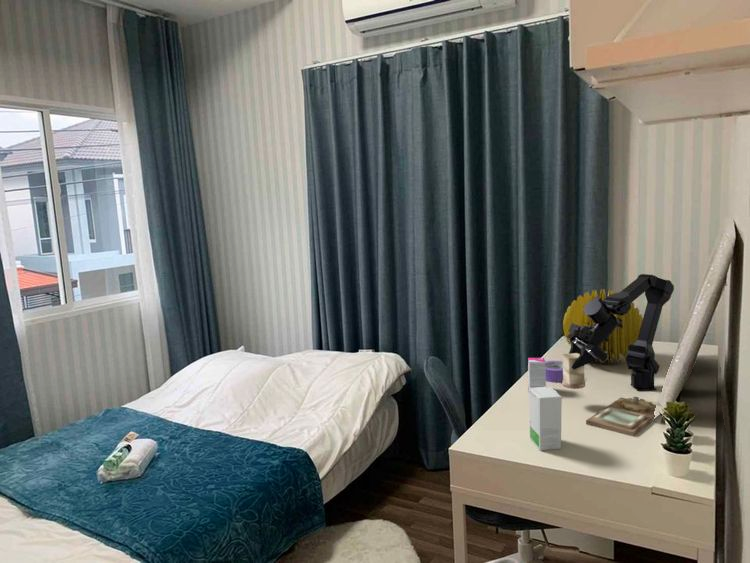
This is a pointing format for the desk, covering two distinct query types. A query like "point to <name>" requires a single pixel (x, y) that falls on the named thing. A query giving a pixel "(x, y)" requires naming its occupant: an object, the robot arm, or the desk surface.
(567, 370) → the marble stone block
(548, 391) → the skincare box
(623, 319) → the lamp
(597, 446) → the desk surface
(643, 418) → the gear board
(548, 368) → the tape roll
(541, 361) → the supplement box
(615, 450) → the desk surface
